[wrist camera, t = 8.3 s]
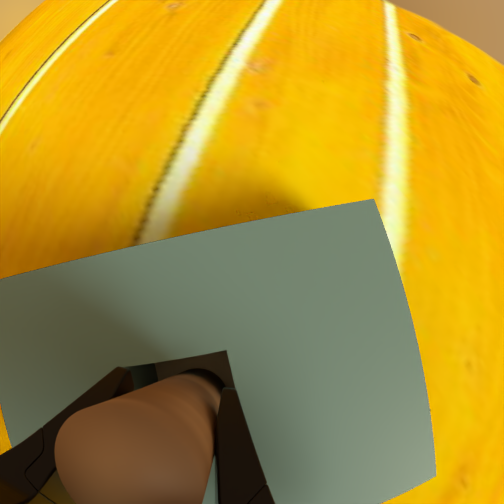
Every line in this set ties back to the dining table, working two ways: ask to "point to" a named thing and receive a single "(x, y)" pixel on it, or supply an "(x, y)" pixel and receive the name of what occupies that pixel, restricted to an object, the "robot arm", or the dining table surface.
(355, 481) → the board
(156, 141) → the dining table surface
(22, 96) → the dining table surface
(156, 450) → the pin
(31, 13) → the dining table surface
